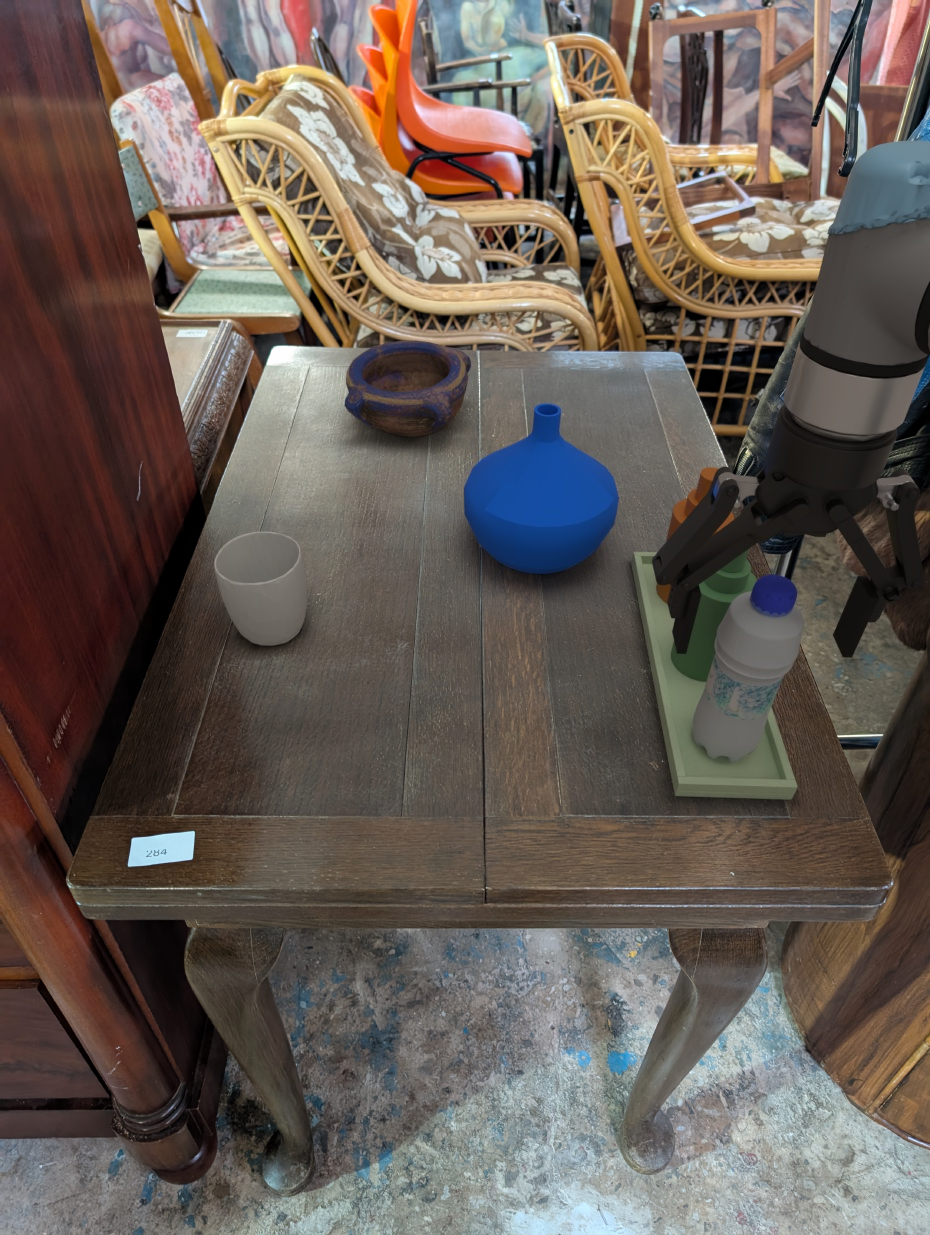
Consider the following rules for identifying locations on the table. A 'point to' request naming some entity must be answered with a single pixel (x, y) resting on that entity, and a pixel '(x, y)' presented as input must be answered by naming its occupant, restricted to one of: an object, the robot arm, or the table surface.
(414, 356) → the bowl
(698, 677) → the green bottle
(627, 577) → the table surface
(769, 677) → the bottle
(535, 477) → the vase
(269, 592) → the mug
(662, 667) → the tray
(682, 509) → the amber bottle
